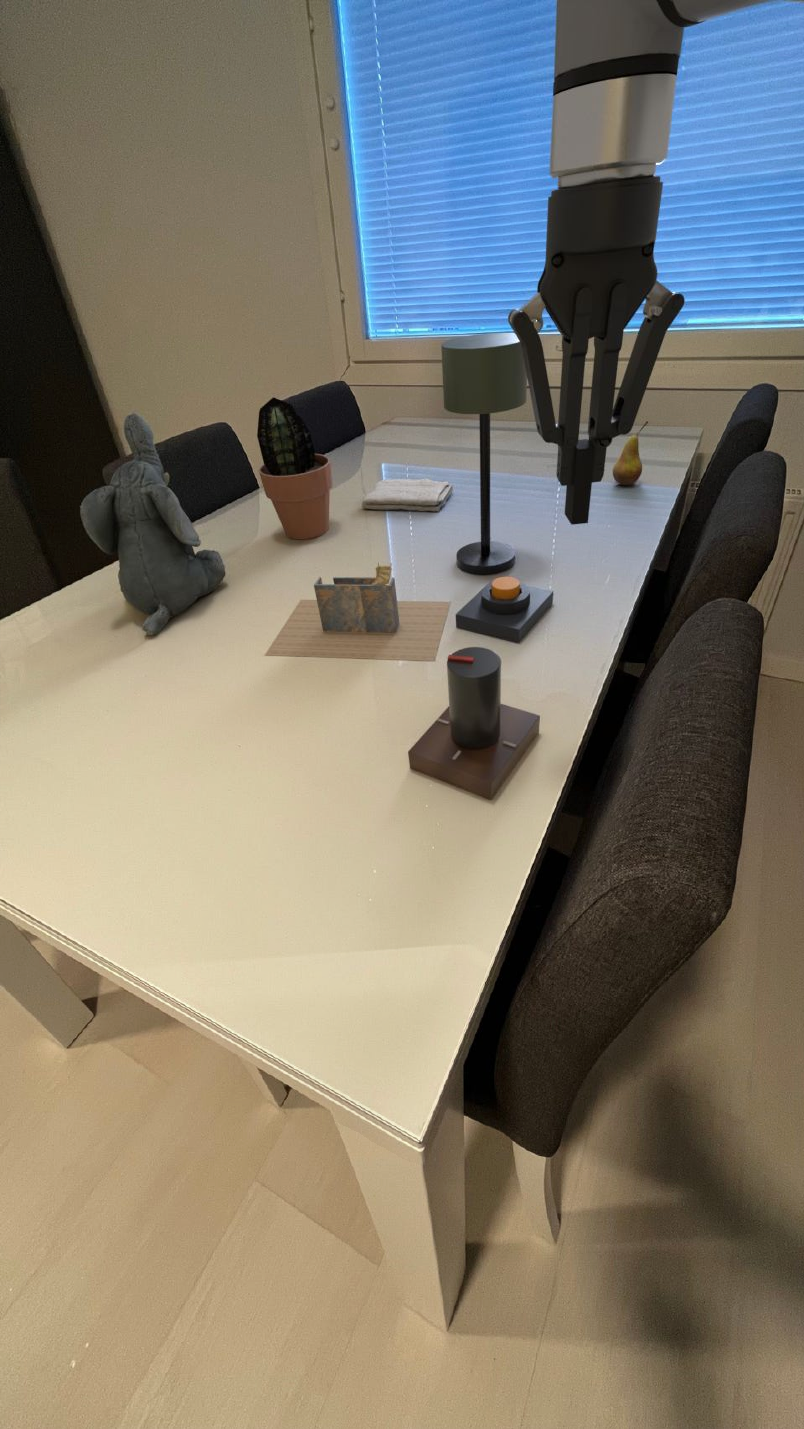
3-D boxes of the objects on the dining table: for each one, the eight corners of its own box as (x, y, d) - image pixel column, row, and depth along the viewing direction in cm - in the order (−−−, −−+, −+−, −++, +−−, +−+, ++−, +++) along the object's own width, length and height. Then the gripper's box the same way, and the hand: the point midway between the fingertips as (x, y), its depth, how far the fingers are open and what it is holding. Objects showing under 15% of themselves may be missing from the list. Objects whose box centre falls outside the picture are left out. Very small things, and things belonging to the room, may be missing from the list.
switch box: (552, 604, 91) (554, 580, 89) (518, 643, 84) (519, 618, 81) (493, 591, 96) (493, 568, 93) (455, 627, 88) (454, 603, 86)
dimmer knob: (504, 720, 67) (505, 647, 61) (494, 752, 63) (494, 677, 57) (457, 714, 69) (454, 641, 63) (445, 745, 65) (440, 671, 59)
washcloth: (442, 512, 123) (441, 497, 121) (360, 511, 128) (358, 496, 126) (455, 492, 132) (454, 477, 130) (378, 491, 137) (376, 477, 135)
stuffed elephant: (188, 562, 116) (136, 409, 99) (251, 591, 104) (204, 422, 87) (94, 603, 106) (17, 440, 89) (151, 640, 94) (75, 460, 77)
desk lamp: (532, 553, 105) (542, 332, 84) (501, 583, 98) (504, 348, 77) (471, 543, 111) (467, 333, 90) (438, 570, 103) (425, 348, 83)
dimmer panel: (539, 732, 69) (540, 714, 67) (491, 800, 62) (491, 782, 60) (462, 707, 74) (461, 690, 72) (409, 768, 66) (407, 750, 65)
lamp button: (524, 590, 88) (524, 579, 87) (512, 602, 85) (512, 591, 84) (499, 585, 90) (499, 574, 89) (486, 597, 87) (486, 586, 86)
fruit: (617, 478, 130) (625, 417, 122) (644, 481, 126) (653, 420, 119) (606, 486, 126) (614, 424, 119) (633, 490, 123) (642, 427, 116)
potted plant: (351, 532, 120) (330, 393, 104) (287, 551, 116) (255, 409, 100) (325, 512, 130) (302, 383, 114) (265, 529, 125) (233, 397, 110)
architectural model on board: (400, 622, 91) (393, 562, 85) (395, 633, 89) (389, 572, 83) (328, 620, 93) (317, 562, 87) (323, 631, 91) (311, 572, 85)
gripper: (681, 170, 43) (634, 497, 58) (500, 193, 44) (499, 511, 59) (727, 161, 38) (662, 526, 52) (518, 187, 38) (511, 541, 53)
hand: (576, 518), depth 56 cm, fingers closed
